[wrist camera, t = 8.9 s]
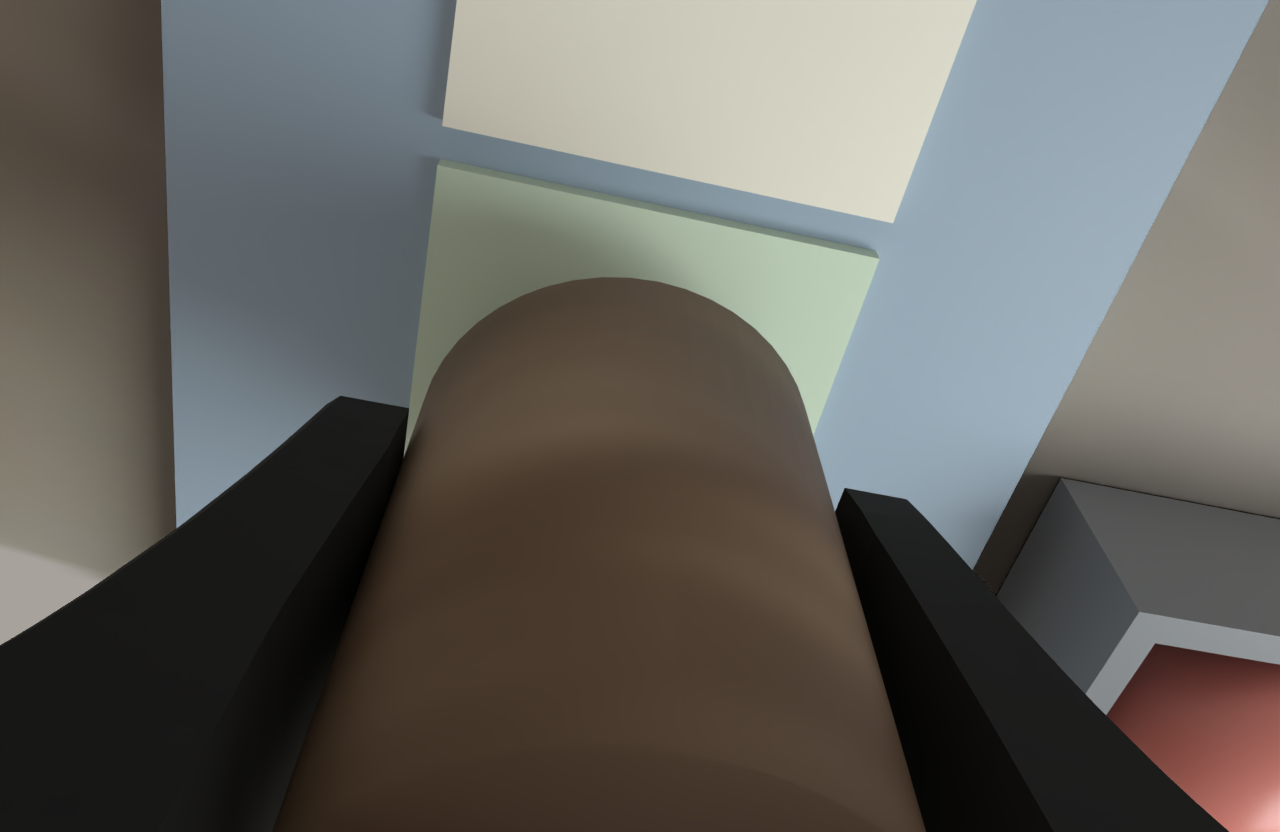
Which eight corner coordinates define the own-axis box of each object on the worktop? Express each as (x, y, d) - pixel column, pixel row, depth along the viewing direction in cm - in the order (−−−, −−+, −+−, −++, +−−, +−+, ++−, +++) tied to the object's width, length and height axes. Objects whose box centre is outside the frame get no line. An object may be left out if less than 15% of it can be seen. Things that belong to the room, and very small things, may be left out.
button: (1404, 616, 14) (1535, 762, 12) (1236, 815, 16) (1320, 966, 14) (1106, 562, 13) (1189, 704, 11) (975, 776, 16) (1025, 926, 14)
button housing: (1467, 555, 14) (1611, 695, 12) (1238, 822, 17) (1321, 970, 15) (1060, 477, 13) (1139, 612, 11) (900, 771, 17) (938, 919, 14)
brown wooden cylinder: (862, 323, 10) (1079, 812, 5) (749, 632, 12) (826, 1190, 7) (443, 238, 9) (245, 688, 5) (399, 574, 11) (231, 1128, 7)
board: (1809, -1191, 6) (1987, -1335, 6) (822, 801, 17) (831, 856, 16) (165, -1896, 5) (75, -2212, 4) (202, 710, 16) (178, 765, 15)
